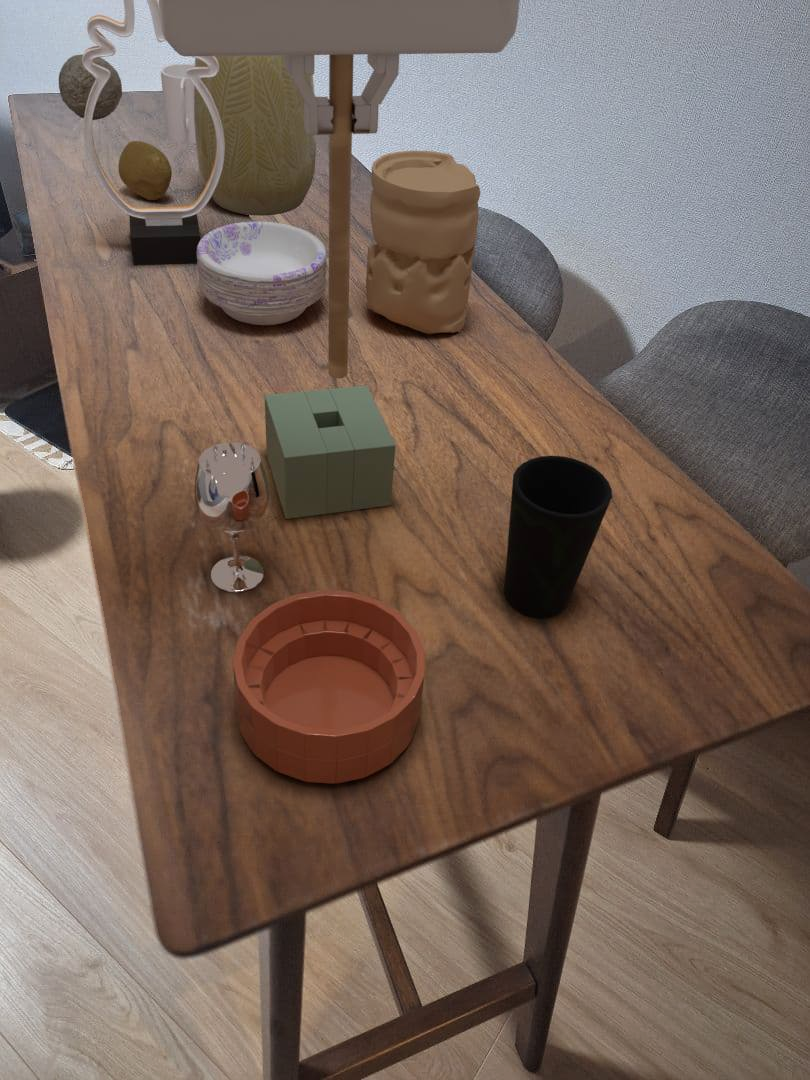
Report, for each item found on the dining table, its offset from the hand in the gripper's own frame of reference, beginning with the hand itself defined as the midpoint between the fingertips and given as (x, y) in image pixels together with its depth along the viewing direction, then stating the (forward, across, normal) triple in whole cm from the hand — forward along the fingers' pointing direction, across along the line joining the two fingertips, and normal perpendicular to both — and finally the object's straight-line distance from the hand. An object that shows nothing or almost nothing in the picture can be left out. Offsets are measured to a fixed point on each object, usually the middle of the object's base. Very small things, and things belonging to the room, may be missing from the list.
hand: (341, 131), depth 56 cm
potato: (+36, -10, +82) cm, 90 cm away
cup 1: (+36, -2, +107) cm, 113 cm away
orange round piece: (+36, -4, -16) cm, 39 cm away
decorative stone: (+36, -17, +118) cm, 124 cm away
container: (+36, +19, +41) cm, 58 cm away
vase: (+36, +6, +80) cm, 88 cm away
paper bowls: (+36, +1, +46) cm, 59 cm away
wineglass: (+36, -9, 0) cm, 37 cm away
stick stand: (+36, +2, +11) cm, 38 cm away
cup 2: (+36, +16, -8) cm, 40 cm away
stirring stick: (+17, 0, 0) cm, 17 cm away
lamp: (+36, -9, +64) cm, 74 cm away
